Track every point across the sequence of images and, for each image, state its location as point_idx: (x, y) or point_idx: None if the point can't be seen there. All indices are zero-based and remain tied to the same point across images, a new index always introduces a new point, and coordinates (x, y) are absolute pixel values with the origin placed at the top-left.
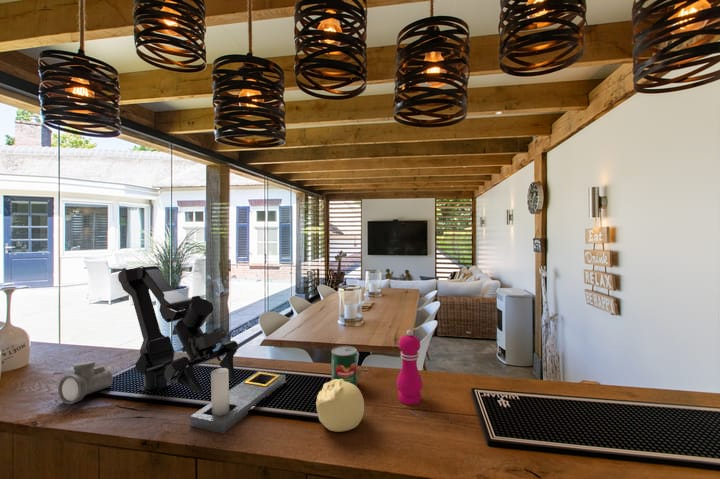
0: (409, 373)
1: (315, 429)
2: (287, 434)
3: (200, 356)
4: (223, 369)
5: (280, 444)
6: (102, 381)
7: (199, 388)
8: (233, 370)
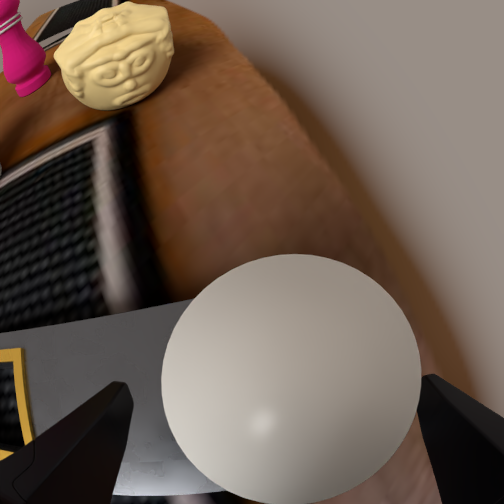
0: (28, 37)
1: (163, 105)
2: (211, 130)
3: None
4: (214, 392)
5: (254, 119)
6: None
7: (460, 394)
8: (68, 419)
